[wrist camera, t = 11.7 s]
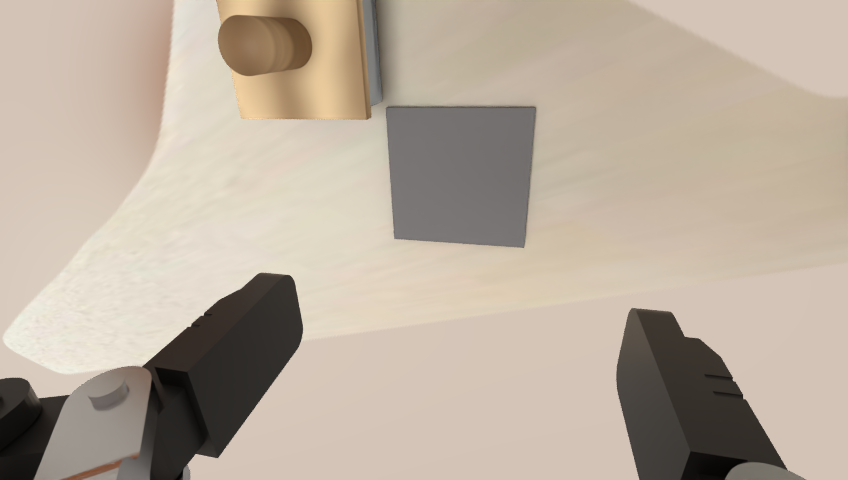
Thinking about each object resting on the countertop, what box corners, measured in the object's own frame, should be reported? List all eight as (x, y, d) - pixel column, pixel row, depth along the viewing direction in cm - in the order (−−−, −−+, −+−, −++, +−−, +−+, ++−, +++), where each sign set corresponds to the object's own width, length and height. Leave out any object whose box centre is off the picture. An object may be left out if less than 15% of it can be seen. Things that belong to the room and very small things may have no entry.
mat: (535, 107, 36) (535, 108, 35) (524, 245, 42) (523, 247, 41) (387, 106, 39) (385, 107, 38) (396, 236, 44) (394, 238, 44)
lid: (358, -47, 29) (311, -68, 23) (371, 117, 34) (335, 136, 28) (218, -36, 32) (142, -53, 25) (249, 116, 36) (191, 133, 30)
